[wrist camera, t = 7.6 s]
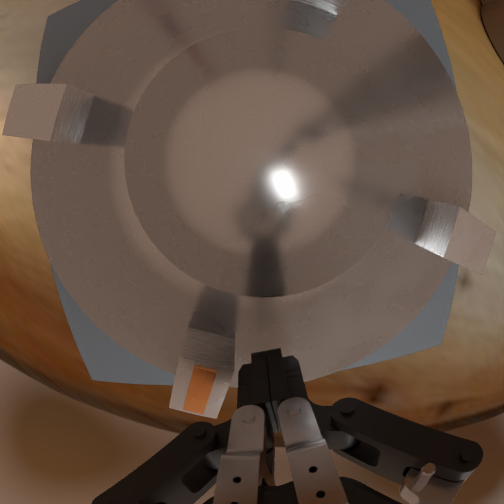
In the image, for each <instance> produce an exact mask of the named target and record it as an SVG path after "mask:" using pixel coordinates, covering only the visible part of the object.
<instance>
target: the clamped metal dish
mask: <svg viewBox="0 0 504 504" xmlns="http://www.w3.org/2000/svg"><path fill="white" fill-rule="evenodd" d="M2 135H6V136H15V137H23V138H30V139H33V143H32V155H31V189H32V201H33V207H34V212H35V216H36V221H37V225H38V230H39V233H40V236H41V239H42V242H43V244H44V247H45V250H46V252H47V255H48V258H49V260H50V262H51V264H52V266H53V268H54V269H55V271H56V273H57V275H58V277H59V279H60V281H61V282H62V284H63V286H64V287H65V289H66V290H67V291H68V293H69V294H70V296H71V297H72V298H73V300H74V301H75V303H76V304H77V305H78V307H79V308H80V309H81V310H82V311H83V312H84V313H85V314H86V315H87V317H88V318H89V319H90V320H91V321H92V322H93V323H94V324H95V325H96V326H97V327H98V328H99V329H100V330H101V331H102V332H104V333H105V334H106V335H107V336H108V337H110V338H111V339H112V340H113V341H115V342H116V343H117V344H118V345H120V346H121V347H122V348H124V349H126V350H127V351H129V352H130V353H132V354H134V355H135V356H137V357H138V358H140V359H142V360H143V361H145V362H147V363H149V364H151V365H153V366H156V367H158V368H160V369H162V370H164V371H167V372H169V373H171V374H174V375H175V379H174V384H173V389H172V395H171V400H170V405H169V408H172V409H176V410H180V411H184V412H188V413H192V414H196V415H201V416H205V417H210V418H215V419H217V416H218V413H219V411H220V408H221V406H222V403H223V400H224V398H225V395H226V392H227V390H228V387H237V388H238V372H239V370H240V368H241V366H242V365H243V364H249V363H251V353H255V352H261V351H266V350H271V349H276V348H281V352H282V357H286V356H291V355H293V356H294V357H295V358H296V359H297V360H298V361H299V364H300V368H301V372H302V376H303V380H304V382H306V381H310V380H313V379H317V378H320V377H323V376H326V375H329V374H332V373H335V372H337V371H339V370H341V369H343V368H346V367H348V366H350V365H352V364H354V363H356V362H358V361H360V360H362V359H363V358H365V357H367V356H368V355H370V354H371V353H373V352H375V351H376V350H378V349H379V348H381V347H382V346H384V345H385V344H386V343H387V342H389V341H390V340H391V339H392V338H394V337H395V336H396V335H397V334H398V333H400V332H401V331H402V330H403V329H404V328H405V327H406V326H407V325H408V324H409V323H410V322H411V321H412V320H413V319H414V318H415V317H416V316H417V315H418V314H419V313H420V312H421V310H422V309H423V308H424V307H425V305H426V304H427V303H428V301H429V300H430V299H431V297H432V296H433V295H434V293H435V292H436V290H437V289H438V287H439V286H440V284H441V282H442V281H443V279H444V277H445V275H446V273H447V272H448V270H449V268H450V266H451V264H452V262H454V263H456V264H458V265H461V266H463V267H465V268H467V269H469V270H471V271H473V272H476V273H478V274H480V275H482V272H483V270H484V267H485V264H486V262H487V259H488V256H489V253H490V250H491V247H492V244H493V241H494V238H495V235H496V231H495V230H493V229H492V228H490V227H489V226H488V225H486V224H485V223H483V222H482V221H481V220H479V219H478V218H476V217H475V216H473V215H472V214H470V213H469V206H470V199H471V191H472V156H471V147H470V139H469V133H468V128H467V124H466V120H465V116H464V113H463V109H462V106H461V103H460V101H459V98H458V95H457V93H456V90H455V88H454V86H453V83H452V81H451V79H450V77H449V75H448V74H447V72H446V70H445V68H444V66H443V65H442V63H441V61H440V59H439V58H438V56H437V55H436V53H435V52H434V51H433V49H432V48H431V46H430V45H429V44H428V42H427V41H426V40H425V38H424V37H423V36H422V35H421V34H420V32H419V31H418V30H417V29H416V28H415V27H414V26H413V25H412V24H411V23H410V22H409V21H408V20H407V19H406V18H405V17H404V16H403V15H402V14H401V13H400V12H399V11H397V10H396V9H395V8H394V7H392V6H391V5H390V4H389V3H387V2H386V1H385V0H118V1H117V2H115V3H114V4H113V5H111V6H110V7H109V8H108V9H107V10H105V11H104V12H103V13H102V14H101V15H100V16H99V17H98V18H97V19H96V20H95V21H94V22H93V23H92V24H91V25H90V26H89V27H88V28H87V29H86V30H85V31H84V32H83V33H82V34H81V35H80V37H79V38H78V39H77V41H76V42H75V43H74V45H73V46H72V47H71V49H70V50H69V52H68V53H67V54H66V56H65V57H64V59H63V60H62V62H61V64H60V66H59V68H58V69H57V71H56V73H55V75H54V77H53V79H52V81H51V83H50V84H21V85H16V87H15V90H14V93H13V96H12V100H11V103H10V106H9V110H8V113H7V117H6V121H5V125H4V129H3V134H2ZM266 353H267V352H266Z"/></svg>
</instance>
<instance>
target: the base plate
mask: <svg viewBox="0 0 504 504" xmlns="http://www.w3.org/2000/svg"><path fill="white" fill-rule="evenodd" d="M117 1H118V0H81V1H79V2H77V3H74V4H72V5H70V6H68V7H66V8H64V9H62V10H60V11H58V12H56V13H54V14H52V15H50V16H48V18H47V23H46V27H45V31H44V36H43V41H42V47H41V52H40V59H39V66H38V73H37V83H36V84H50V83H51V81H52V79H53V77H54V75H55V73H56V71H57V69H58V68H59V66H60V64H61V62H62V60H63V59H64V57H65V56H66V54H67V53H68V52H69V50H70V49H71V47H72V46H73V45H74V43H75V42H76V41H77V39H78V38H79V37H80V35H81V34H82V33H83V32H84V31H85V30H86V29H87V28H88V27H89V26H90V25H91V24H92V23H93V22H94V21H95V20H96V19H97V18H98V17H99V16H100V15H101V14H102V13H103V12H104V11H105V10H107V9H108V8H109V7H110V6H111V5H113V4H114V3H115V2H117ZM385 1H386V2H387V3H389V4H390V5H391V6H392V7H394V8H395V9H396V10H397V11H399V12H400V13H401V14H402V15H403V16H404V17H405V18H406V19H407V20H408V21H409V22H410V23H411V24H412V25H413V26H414V27H415V28H416V29H417V30H418V31H419V32H420V34H421V35H422V36H423V37H424V38H425V40H426V41H427V42H428V44H429V45H430V46H431V48H432V49H433V51H434V52H435V53H436V55H437V56H438V58H439V59H440V61H441V63H442V65H443V66H444V68H445V70H446V72H447V74H448V75H449V77H450V79H451V81H452V83H453V86H454V88H455V90H456V86H455V81H454V77H453V72H452V68H451V63H450V59H449V55H448V52H447V48H446V44H445V41H444V38H443V35H442V31H441V28H440V25H439V22H438V19H437V17H436V14H435V11H434V9H433V6H432V3H431V1H430V0H385ZM456 93H457V92H456ZM50 264H51V262H50ZM458 266H459V265H458V264H456V263H454V262H452V264H451V266H450V268H449V270H448V272H447V273H446V275H445V277H444V279H443V281H442V282H441V284H440V286H439V287H438V289H437V290H436V292H435V293H434V295H433V296H432V297H431V299H430V300H429V301H428V303H427V304H426V305H425V307H424V308H423V309H422V310H421V312H420V313H419V314H418V315H417V316H416V317H415V318H414V319H413V320H412V321H411V322H410V323H409V324H408V325H407V326H406V327H405V328H404V329H403V330H402V331H401V332H400V333H398V334H397V335H396V336H395V337H394V338H392V339H391V340H390V341H389V342H387V343H386V344H385V345H384V346H382V347H381V348H379V349H378V350H376V351H375V352H373V353H371V354H370V355H368V356H367V357H365V358H363V359H362V360H360V361H358V362H356V363H354V364H352V365H350V366H348V367H346V368H343V369H341V370H344V369H349V368H354V367H359V366H364V365H368V364H372V363H377V362H381V361H385V360H389V359H393V358H397V357H400V356H404V355H408V354H411V353H414V352H418V351H421V350H424V349H428V348H431V347H434V346H437V345H440V344H441V343H442V340H443V336H444V333H445V329H446V325H447V321H448V317H449V313H450V309H451V304H452V299H453V295H454V289H455V284H456V278H457V272H458ZM51 268H52V271H53V275H54V279H55V282H56V286H57V289H58V293H59V296H60V299H61V302H62V306H63V309H64V312H65V314H66V317H67V320H68V323H69V326H70V328H71V331H72V334H73V336H74V339H75V341H76V344H77V346H78V349H79V351H80V354H81V356H82V358H83V360H84V363H85V365H86V367H87V369H88V372H89V374H90V376H91V378H92V380H97V381H107V382H118V383H132V384H151V385H173V384H174V379H175V375H174V374H171V373H169V372H167V371H164V370H162V369H160V368H158V367H156V366H153V365H151V364H149V363H147V362H145V361H143V360H142V359H140V358H138V357H137V356H135V355H134V354H132V353H130V352H129V351H127V350H126V349H124V348H122V347H121V346H120V345H118V344H117V343H116V342H115V341H113V340H112V339H111V338H110V337H108V336H107V335H106V334H105V333H104V332H102V331H101V330H100V329H99V328H98V327H97V326H96V325H95V324H94V323H93V322H92V321H91V320H90V319H89V318H88V317H87V315H86V314H85V313H84V312H83V311H82V310H81V309H80V308H79V307H78V305H77V304H76V303H75V301H74V300H73V298H72V297H71V296H70V294H69V293H68V291H67V290H66V289H65V287H64V286H63V284H62V282H61V281H60V279H59V277H58V275H57V273H56V271H55V269H54V268H53V266H52V264H51Z"/></svg>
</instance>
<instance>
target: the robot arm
mask: <svg viewBox="0 0 504 504" xmlns="http://www.w3.org/2000/svg"><path fill="white" fill-rule="evenodd" d="M481 2H482V8H481V16H482V19H483V23H484V26H485V28H486V31H487V33H488V35H489V38H490V40H491V42H492V43H493V45H494V47H495V49H496V51H497V53H498V54H499V56H500V58H501V59H502V61H503V62H504V0H481ZM266 352H267V353H266ZM278 427H279V430H278ZM279 431H280V432H282V434H283V438H284V443H285V447H286V452H287V457H288V461H289V465H290V470H291V474H292V478H293V481H292V482H289V483H286V484H283V485H280V486H276V485H275V478H274V470H275V467H274V466H275V461H274V460H275V445H274V433H277V432H279ZM329 449H333V451H334V452H335V453H337V454H339V455H341V456H342V457H344V458H346V459H348V460H350V461H352V462H354V463H356V464H358V465H360V466H362V467H364V468H366V469H368V470H370V471H372V472H374V473H376V474H378V475H380V476H382V477H384V478H387V479H389V480H391V481H393V482H396V483H398V484H400V485H401V486H400V495H401V497H402V498H403V499H404V500H406V501H407V502H409V503H410V504H451V503H452V502H453V500H454V498H455V497H456V494H457V493H458V491H459V489H460V488H461V485H462V484H463V483H464V481H465V480H466V479H467V478H468V477H469V476H470V475H471V474H472V473H473V471H474V470H475V469H476V468H477V467H478V465H479V464H480V463H481V461H482V457H483V450H482V448H481V446H480V445H479V444H478V443H476V442H474V441H470V440H467V439H464V438H460V437H457V436H454V435H450V434H447V433H444V432H441V431H438V430H435V429H432V428H429V427H426V426H424V425H421V424H418V423H415V422H412V421H410V420H407V419H404V418H402V417H399V416H397V415H394V414H391V413H389V412H386V411H384V410H382V409H379V408H377V407H374V406H372V405H370V404H367V403H365V402H363V401H360V400H358V399H355V398H343V399H340V400H338V401H337V402H335V403H334V404H333V405H332V406H319V405H316V404H314V403H312V402H311V401H310V400H309V399H308V396H307V392H306V388H305V384H304V380H303V376H302V372H301V368H300V364H299V361H298V360H297V359H296V358H295V357H294V356H293V355H291V356H286V357H282V352H281V348H276V349H271V350H266V351H261V352H255V353H251V363H249V364H243V365H242V366H241V368H240V370H239V372H238V398H237V410H236V411H235V412H234V413H233V415H232V418H231V419H230V420H228V421H227V422H224V423H222V424H219V425H216V426H213V425H212V424H210V423H208V422H196V423H193V424H192V425H190V426H189V427H187V428H186V429H185V430H184V431H183V432H182V433H180V434H179V435H178V436H177V437H176V438H175V439H173V440H172V441H171V442H170V443H169V444H167V445H166V446H165V447H164V448H162V449H161V450H160V451H159V452H157V453H156V454H155V455H154V456H152V457H151V458H150V459H149V460H147V461H146V462H145V463H143V464H142V465H141V466H139V467H138V468H137V469H136V470H134V471H133V472H132V473H130V474H129V475H128V476H126V477H125V478H124V479H122V480H121V481H119V482H118V483H116V484H115V485H114V486H112V487H111V488H109V489H108V490H107V491H105V492H103V493H102V494H100V495H99V496H97V497H96V498H95V499H94V500H93V502H92V504H194V503H195V502H196V501H197V500H198V499H199V498H200V497H201V496H203V495H204V494H205V493H206V492H207V491H208V490H209V489H210V488H211V487H212V486H213V485H214V484H215V483H216V487H215V493H214V496H213V497H212V498H210V499H208V500H207V501H206V502H204V503H203V504H402V503H400V502H397V501H395V500H393V499H391V498H389V497H387V496H385V495H383V494H381V493H380V492H378V491H375V490H374V489H372V488H370V487H368V486H366V485H365V484H363V483H361V482H359V481H357V480H354V479H351V478H346V477H339V475H338V472H337V470H336V467H335V464H334V462H333V459H332V456H331V453H330V451H329Z"/></svg>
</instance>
